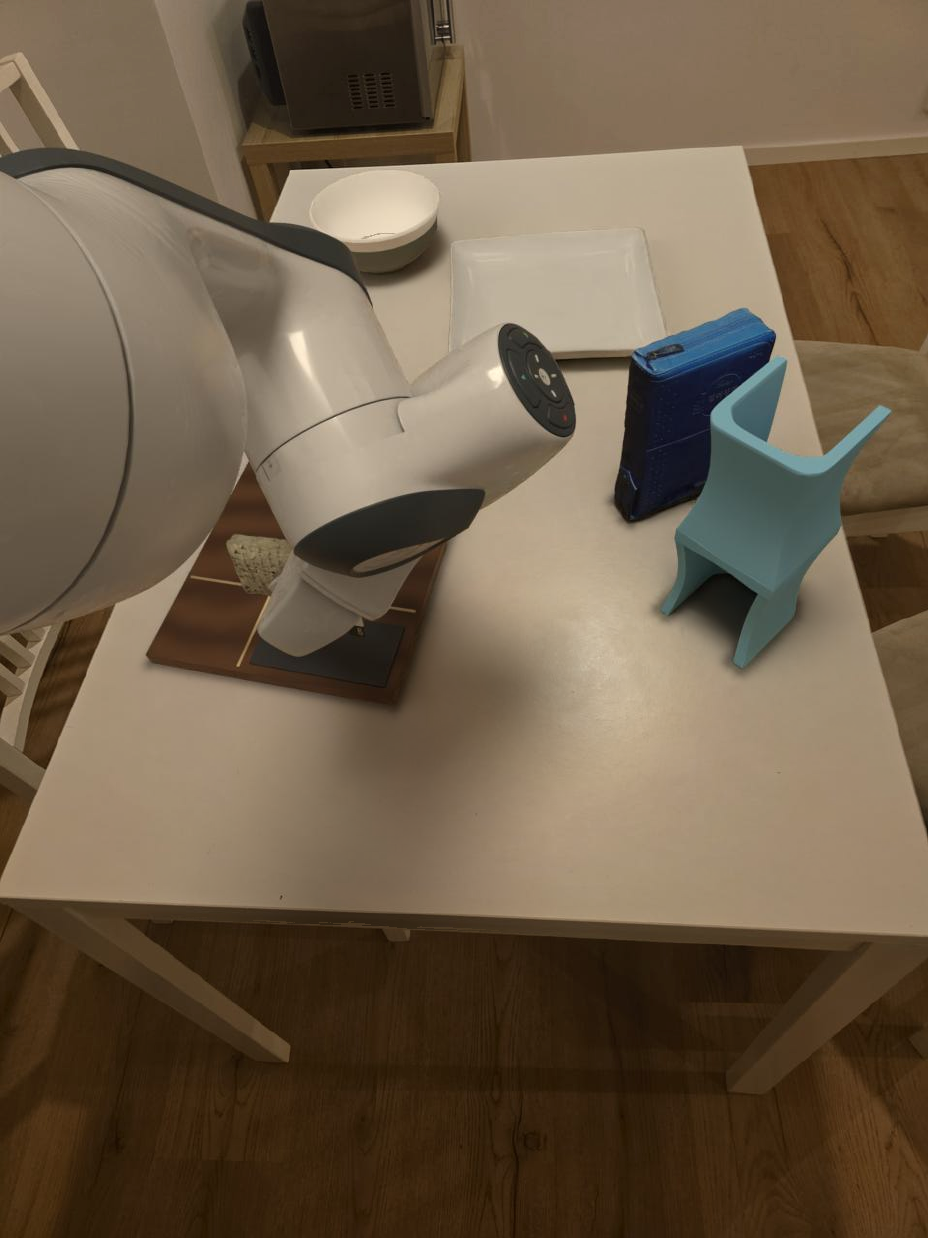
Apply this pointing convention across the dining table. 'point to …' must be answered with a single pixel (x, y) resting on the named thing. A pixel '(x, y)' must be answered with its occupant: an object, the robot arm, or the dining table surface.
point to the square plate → (559, 290)
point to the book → (682, 407)
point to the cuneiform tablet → (264, 565)
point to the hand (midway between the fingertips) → (290, 562)
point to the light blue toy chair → (762, 508)
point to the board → (228, 616)
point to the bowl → (379, 217)
